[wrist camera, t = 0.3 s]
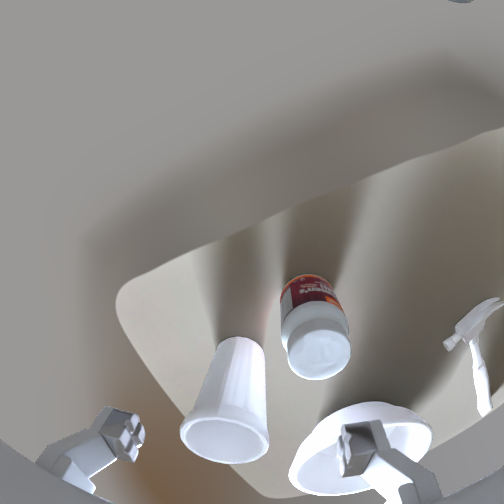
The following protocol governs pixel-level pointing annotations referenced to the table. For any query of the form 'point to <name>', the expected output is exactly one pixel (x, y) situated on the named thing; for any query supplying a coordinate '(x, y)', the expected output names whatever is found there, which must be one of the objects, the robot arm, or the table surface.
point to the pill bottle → (313, 328)
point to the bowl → (325, 446)
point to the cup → (230, 406)
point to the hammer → (476, 347)
